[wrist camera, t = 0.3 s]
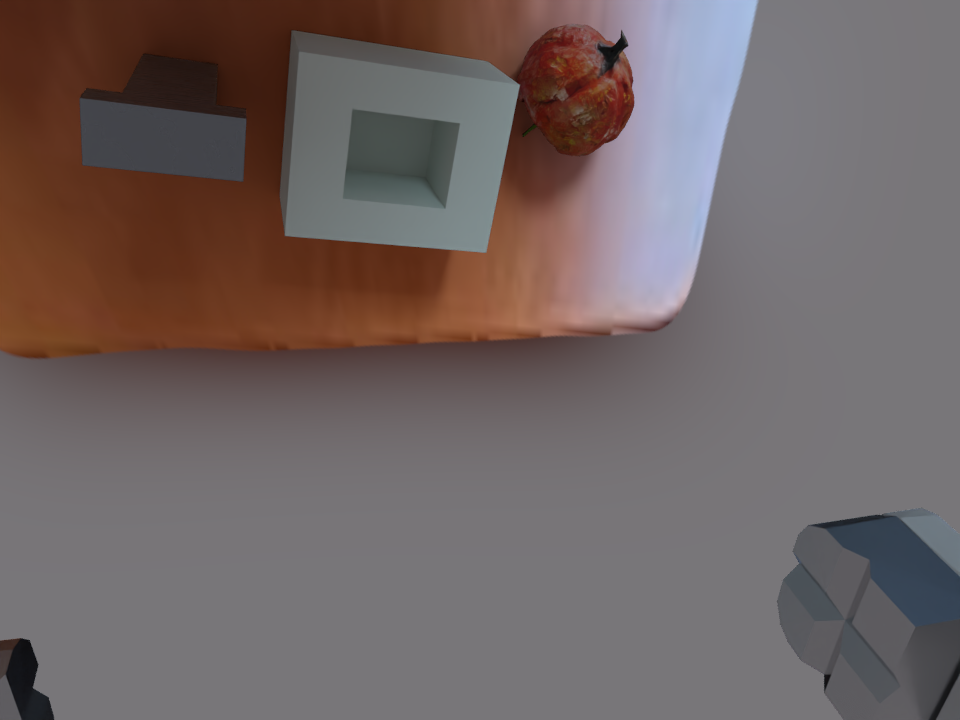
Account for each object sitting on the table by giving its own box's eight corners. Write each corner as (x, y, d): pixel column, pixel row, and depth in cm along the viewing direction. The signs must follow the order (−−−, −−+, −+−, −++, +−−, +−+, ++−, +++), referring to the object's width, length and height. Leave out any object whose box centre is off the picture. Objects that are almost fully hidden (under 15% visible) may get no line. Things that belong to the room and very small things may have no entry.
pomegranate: (570, 136, 57) (684, 55, 50) (547, 207, 53) (667, 130, 46) (493, 64, 54) (603, -34, 47) (462, 133, 50) (577, 38, 43)
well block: (291, 30, 47) (299, 51, 41) (487, 61, 51) (519, 85, 45) (279, 195, 52) (284, 236, 46) (460, 213, 55) (486, 252, 50)
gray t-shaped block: (114, 49, 45) (79, 97, 35) (244, 68, 48) (246, 118, 38) (115, 103, 47) (82, 165, 37) (242, 119, 49) (243, 181, 39)
